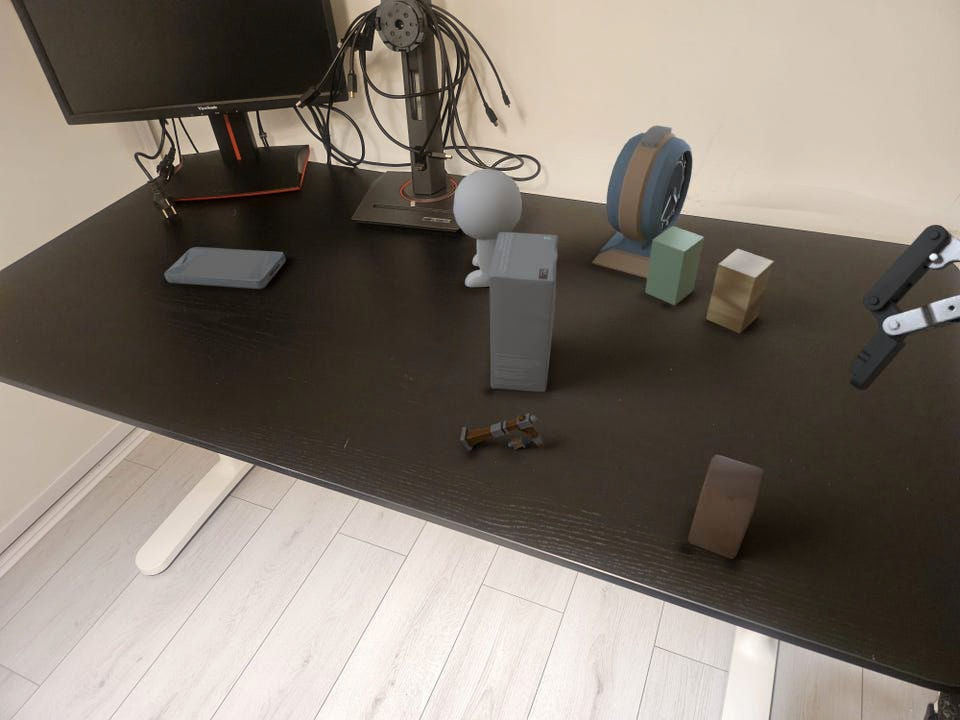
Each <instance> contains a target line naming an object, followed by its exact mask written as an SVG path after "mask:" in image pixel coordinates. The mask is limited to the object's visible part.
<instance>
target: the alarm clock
mask: <svg viewBox="0 0 960 720" xmlns="http://www.w3.org/2000/svg"><path fill="white" fill-rule="evenodd" d="M672 130H673V128H672V127H669V126H662V125H653V126H651V127H649V128H648V130H646V132H640V133H638V134H635V135H634V136H632V137H630V138H629V139H628V140H627V141H626V143H624V145H623V147H622V149H621V150H620V152H619V154H618V155H617V158H616V160H615V162H614V165H613V167H612V171H611V174H610V177H609V181H608V186H607V192H606V206H605V207H606V215H607V221H608V222H609V225H610V226H611V227H612V228H613V229H614V230H615V231H616V232H615V234H614V235H613V236H611V238H610V239H609V240H608V241H607V242H606V244H604V246H602V248H601V249H599V253H598V254H597V256H596V257H595V258H594V259H593V260H592V262H591V264H593V265H597V266H600V267H604V268H608V269H612V270H616V271H619V272H622V273H625V274H629V275H633V276H638V277H641V278H645V279H647V277H648V270H649V263H650V255H651V248H652V241H653V239H654V238H656V237H657V236H659V235H660V234H662V233H663V232H665V231H666V230H667V229H669V228H670V227H672V226H675V225H676V223H677V222H678V219H679V217H680V215H681V212H682V210H683V207H684V205H685V201H686V199H687V195H688V192H689V188H690V183H691V180H692V179H691V178H692V173H693V152H692V148H691V146H690V145H689V144H688V143H687V141H685V139H682V138H679V137H677V136H676V135H675V133H673V132H672Z"/></svg>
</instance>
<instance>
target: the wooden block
mask: <svg viewBox="0 0 960 720" xmlns="http://www.w3.org/2000/svg"><path fill="white" fill-rule="evenodd" d="M764 476H765V475H764V470H763V469H762V468H760V467H758V466H755V465H752V464H749V463H746V462H742V461H739V460H736V459H733V458H730V457H727V456H723V455H720V454H714V455H713V456H712V457H711V460H710V463H709V466H708V469H707V472H706V476H705V479H704V482H703V485H702V488H701V492H700V495H699V499H698V502H697V505H696V508H695V512H694V516H693V520H692V523H691V526H690V530H689V533H688V537H687V540H688V543H689V544H690V545H693V546H696V547H698V548H700V549H704V550H706V551H709V552H711V553H714V554H716V555H719V556H721V557H724V558H726V559H729V560H734V559H735V558H736V557H737V555H738V553H739V551H740V548H741V545H742V543H743V540H744V538H745V535H746V532H747V530H748V528H749V526H750V523H751V520H752V517H753V515H754V512H755V510H756V508H757V506H758V505H757V504H758V501H759V496H760V492H761V487H762V484H763V479H764Z"/></svg>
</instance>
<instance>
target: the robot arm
mask: <svg viewBox="0 0 960 720" xmlns="http://www.w3.org/2000/svg"><path fill="white" fill-rule="evenodd" d="M955 263H960V239H959V238H957V237H955V236H954V235H953V234H952V233H951V232H950V231H948V230H947V229H946V228H945V227H944V226H942V225H940V224H931V225H929V226H927V227H926V228H925V229H923V231H921V233H920V234H919V235H918V236H917V237H916V238H915V239H914V240H913V242H912V243H911V244H910V245H909V246H908V247H907V248H906V250H905V251H904V252H902V254H901V255H899V257H898V258H897V259H896V261H895V262H894V263H893V264H892V265H891V266H890V267H889V269H888V270H886V272H885V273H884V274H883V275H882V276H881V277H880V278H879V279H878V281H876V282H875V284H874V285H873V286H872V287H871V288H870V289H869V291H867V293H866V294H865V295H864V296H863V299H862V304H863V306H864V308H865V309H867V310H868V311H869V312H870V313H871V315H872V316H873V317H874V318H875V319H876V321H877V323H878V329H877V331H876V332H875V334H874V335H873V336H872V337H871V339H870V340H869V341H868V342H867V344H865V346H864V347H863V349H862V350H861V351H860V352H859V353H858V354H857V356H855V358H854V359H853V360H852V361H851V363H850V366H849V370H848V372H849V373H851V374H852V375H853V377H852V378H851V380H850V381H849V384H850V385H851V386H853V387H855V388H856V389H857V390H859V391H863V390H866V389H868V388H869V387H870V386H871V385H872V384H873V383H874V382H875V381H876V379H878V377H879V376H880V375H881V374H882V373H883V372H884V370H885V369H886V368H887V367H888V366H889V365H890V364H891V362H892V361H893V360H894V359H895V358H896V357H897V355H898V354H899V353H900V352H901V351H902V350H903V349H904V347H905V346H906V345H907V342H905V341H904V340H905V339H906V338H907V337H909V336H913V335H917V334H920V333H923V332H927V331H931V330H935V329H939V328H945V327H949V326H952V325H953V326H954V325H956V324H960V294H957V295H954V296H950V297H947V298H944V299H940V300H937V301H933V302H931V303H927V304H925V305H923V306H921V307H917V308H914V309H910V310H906V311H902V309H901V308H900V307H899V305H898V304H899V303H900V301H901V300H902V299H904V297H905V296H906V295H907V294H909V292H910V291H911V289H912V288H914V286H916V284H917V283H918V282H919V281H920V280H921V279H922V278H923V277H924V276H925V274H927V272H928V271H930V270H934V271H942V270H944V269H946V268H947V267H949V266H950V265H952V264H955Z"/></svg>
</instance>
